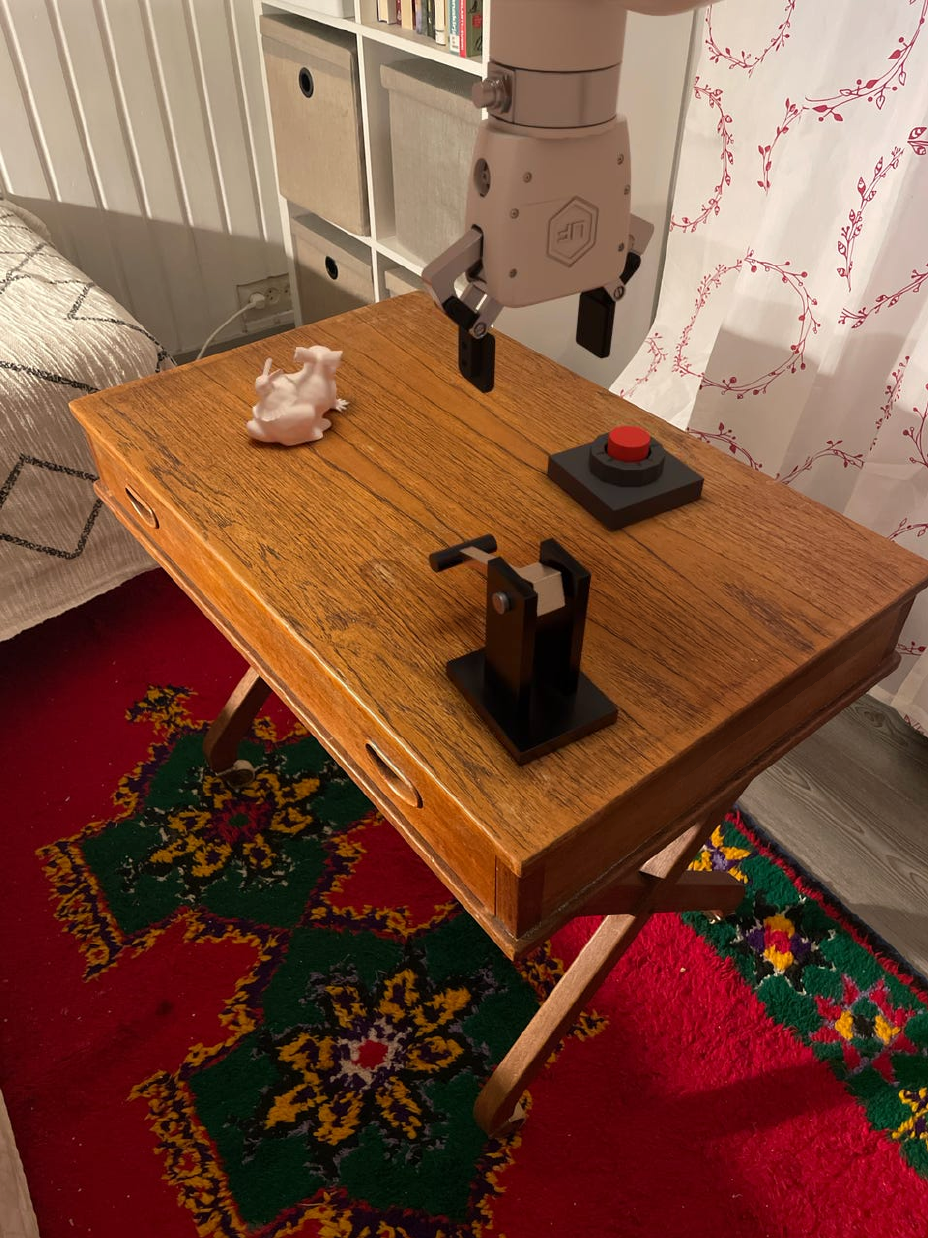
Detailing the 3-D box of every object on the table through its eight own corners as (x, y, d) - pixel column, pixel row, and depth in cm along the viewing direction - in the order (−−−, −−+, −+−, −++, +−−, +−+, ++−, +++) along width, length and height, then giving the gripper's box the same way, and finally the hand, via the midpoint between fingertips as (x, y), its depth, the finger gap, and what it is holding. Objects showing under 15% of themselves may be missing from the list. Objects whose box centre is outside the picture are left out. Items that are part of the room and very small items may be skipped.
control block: (632, 447, 94) (637, 410, 91) (700, 498, 87) (708, 460, 85) (546, 475, 90) (549, 438, 87) (611, 531, 83) (616, 492, 81)
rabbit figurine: (344, 399, 100) (337, 310, 94) (382, 431, 96) (377, 339, 89) (237, 433, 95) (222, 340, 89) (272, 468, 90) (258, 373, 84)
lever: (431, 576, 70) (425, 545, 69) (490, 555, 72) (485, 525, 71) (518, 624, 60) (513, 590, 59) (584, 599, 62) (579, 564, 61)
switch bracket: (445, 673, 70) (444, 544, 62) (537, 636, 73) (547, 508, 66) (520, 766, 64) (529, 634, 56) (617, 721, 67) (639, 590, 59)
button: (630, 438, 88) (633, 421, 87) (655, 457, 86) (658, 440, 85) (598, 449, 87) (601, 432, 86) (623, 468, 84) (625, 450, 83)
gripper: (458, 130, 50) (457, 423, 61) (710, 88, 57) (667, 359, 68) (389, 97, 55) (400, 375, 66) (629, 62, 61) (602, 319, 73)
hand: (536, 366), depth 67 cm, fingers open, 9 cm apart
